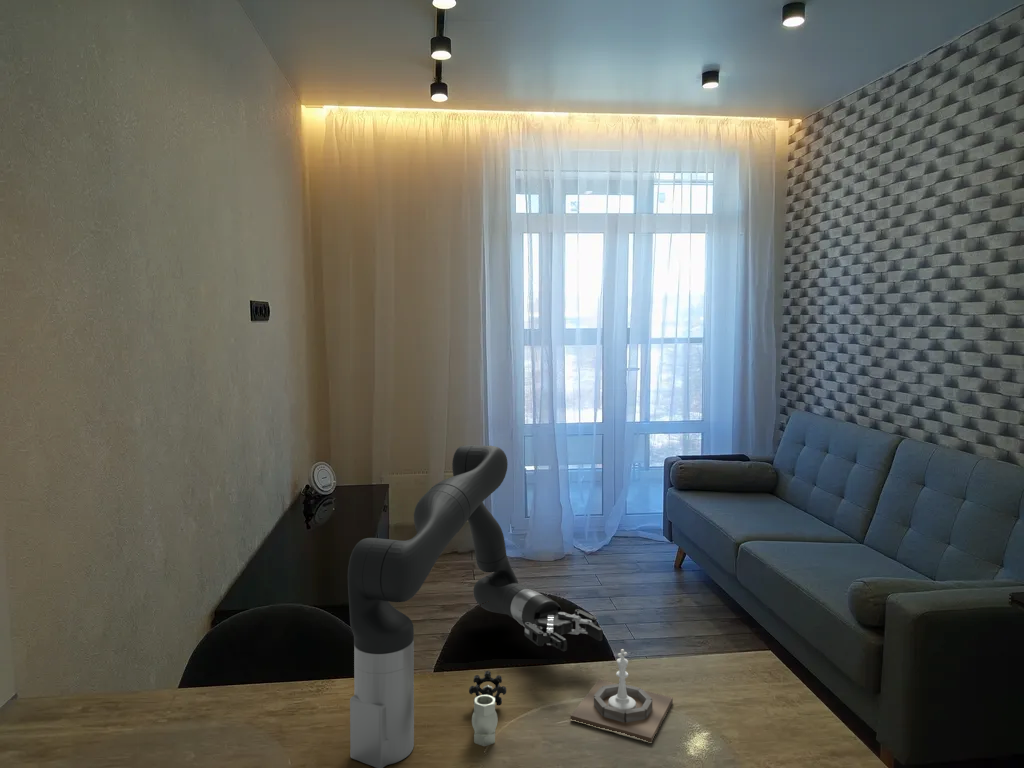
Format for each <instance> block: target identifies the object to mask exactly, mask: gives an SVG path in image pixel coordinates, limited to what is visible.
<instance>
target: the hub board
mask: <svg viewBox="0 0 1024 768" xmlns="http://www.w3.org/2000/svg"><path fill="white" fill-rule="evenodd" d="M618 687H619V682H618V683H614V682H611V681H607V680H603V679H598V680H597V681H596V682H595V684H594V685H593V686H592V687H591V689H590V690H589V691H588V693H587V694H586V695H585V696H584V698H583V699H582V700H581V701H580V702H579V704H577V706H576V708H575V709H574V710H573V712H571V714H570V716H569V717H570V719H572V720H576V721H579V722H583V723H586V724H590V725H593V726H596V727H600V728H605V729H609V730H612V731H617V732H621V733H625V734H627V735H630V736H635V737H637V738H640V739H643V740H646V741H648V742H652V740H653V738H654V736H655V734H656V733H657V734H658V732H659V730H660V728H661V726H662V725H661V723H662V721H663V719H664V717H665V716H667V715H666V714H668V713H669V711H670V709H671V708H672V705H673V704H674V703H673V702H674V701H673V700H674V699H673V697H672V696H668V695H665V694H664V695H663V694H659V693H655V692H652V691H649V690H648V691H647V690H644V689H643V688H641V687H638V686H635V685H630V684H626V691H627V695H628V696H629V697H631V698H633V699H634V700H635V702H636V709H630V710H621V709H618V708H614V707H610V706H608V700H609V698H610V697H612V696H614V695H616V694H617V693H618ZM668 710H669V711H668ZM667 712H668V713H667ZM665 718H666V717H665ZM570 719H569V720H570ZM664 720H665V719H664ZM663 722H664V721H663ZM662 724H663V723H662ZM660 725H661V726H660ZM659 727H660V728H659ZM658 729H659V730H658ZM657 731H658V732H657ZM657 734H656V735H657ZM655 737H656V736H655ZM654 739H655V738H654ZM653 741H654V740H653ZM652 743H653V742H652Z"/></svg>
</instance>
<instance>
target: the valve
mask: <svg viewBox="0 0 1024 768" xmlns="http://www.w3.org/2000/svg"><path fill="white" fill-rule="evenodd" d="M487 682H489V683H492V684H493V685H494V688H493V686H492V685H489V684H486V685H484V686H483V687H482V688H481V685H482V684H483V683H487ZM502 682H503V677H502V676H501V675H500V674H499V675H496V676H495V678H493V677H492V672H491V671H490V670H486V671H484V677H482V678H481V676H480V675H478V674H476V675H474V676H473V683H474V684H475V685H471V686H470V687H469V688H468V693H469V694H470V695H473V694H475V697H474V698H473V713H472V716H471V725H472V728H473V730H474V731H473V742H474V744H477V745H479V746H482V747H487V746H490V745H493V744H495V741H496V728H497V726H498V721H499V719H498V713H497V711H496V706H501V705H502V701H503V698H502V697H500V695H501V694H502V695H503V696H505V695H506V694H507V687H506V686H504V685H500V684H502ZM495 693H496V694H495ZM494 694H495V695H494Z"/></svg>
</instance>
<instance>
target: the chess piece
mask: <svg viewBox="0 0 1024 768" xmlns="http://www.w3.org/2000/svg"><path fill="white" fill-rule="evenodd" d="M625 656H626V657H627V656H628V652H627V651H625V649H624V648H622V649H620V652H619V653H617V657H619V658H617V659H616V664H617V667H618V671H616V673H615V676H616V677H618V678H619V679H618V683H619V687H618V693H617V694H616V695H614V696H612V697H610V698H609V700H608V706H610V707H614V708H618V709H621V710H630V709H636V702H635V700H634V699H633V698H631V697H629V696H628V695H627V691H626V685H627V684H626V683H627V682H626V678H628V677H629V673H628V671H627V667H628V665H629V660H628V659H627V658H625Z"/></svg>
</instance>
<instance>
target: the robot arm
mask: <svg viewBox="0 0 1024 768" xmlns="http://www.w3.org/2000/svg"><path fill="white" fill-rule="evenodd" d="M451 464H452V465H451V466H452V467H451V468H452V475H453V476H451V477H448V478H445V479H443V480H441V481H439V482H438V483H435V485H433V486H432V487H431V488H430V489H429V490H427V492H426V493H425V494H424V495H423V496H422V497H421V498H420V499H419V501H418V502H417V503H416V506H415V508H414V512H413V523H414V528H415V531H416V532H415V533H416V534H415V535H414V536H413V537H412V538H410V539H407V540H399V539H398V540H397V539H388V538H377V537H367V538H363V539H361V540H359V541H358V542H357V543H356V544H355V546H354V548H353V549H352V551H351V553H350V557H349V560H348V566H347V590H348V591H347V592H348V607H349V608H348V609H349V624H350V629H351V632H352V634H353V647H354V651H353V653H354V654H353V655H354V656H353V657H354V658H353V659H354V660H353V661H354V662H353V663H354V664H353V666H354V667H353V668H354V669H353V670H354V671H353V672H354V673H353V675H354V678H353V679H354V682H353V683H354V684H353V685H354V687H353V688H354V695H353V696H351V697H350V699H349V736H350V738H349V741H350V742H349V743H350V748H349V749H350V758H351V759H353V760H354V761H358V762H360V763H363V764H366V765H368V766H372V767H374V768H385V767H386V766H388V765H393V764H396V763H399V762H400V761H402V760H405V758H407V757H408V756H410V754H411V753H412V752H413V749H414V747H415V705H414V704H415V695H414V693H415V691H414V690H415V688H414V687H415V685H414V684H415V683H414V682H415V680H414V679H415V678H414V676H415V674H414V673H415V671H414V670H415V669H414V667H415V666H414V664H415V663H414V661H415V659H414V658H415V651H414V650H415V643H414V641H415V640H414V638H415V637H414V629H415V628H414V623H413V622H412V619H411V618H410V617H409V616H407V615H406V614H404V613H402V612H401V611H399V609H397V608H396V607H395V606H393V605H392V604H391V603H390V602H392V603H405V602H407V601H409V600H411V599H412V598H413V597H415V595H416V594H417V593H418V592H419V590H420V589H421V588H422V586H423V584H424V583H425V581H426V579H427V578H428V576H429V574H430V573H431V571H432V569H433V567H434V565H435V564H436V562H437V561H438V560H439V558H440V556H441V555H442V553H443V552H444V550H445V549H446V548H447V546H448V545H449V544H450V542H451V541H452V539H453V538H455V536H456V535H457V534H458V533H459V532H460V531H461V529H462V528H463V526H464V525H466V523H467V522H468V525H469V528H470V531H471V537H472V541H473V549H474V553H475V554H474V555H475V560H476V565H477V567H478V569H479V570H480V571H481V572H483V573H484V572H485V573H490V574H488V575H486V576H484V577H482V578H480V579H478V580H477V581H476V582H475V584H474V586H473V591H472V592H473V597H474V600H475V601H476V603H477V604H478V605H479V606H480V604H481V606H480V607H481V608H483V610H486V611H488V612H491V613H497V614H502V615H508V616H509V617H510V618H513V619H514V620H515V621H517V622H518V624H520V625H521V626H523V627H524V636H525V638H527V639H529V641H530V642H533V643H534V645H536V646H537V647H543V646H544V644H546V645H547V646H552V647H554V648H556V649H558V650H560V651H562V652H565V651H567V650H568V641H567V640H568V639H566V638H565V637H564V636H562V635H565V634H570V635H577V636H578V635H579V634H583V635H584V634H586V635H588V636H590V637H592V639H595V640H596V641H598V642H601V641H603V640H604V639H603V632H604V631H603V629H602V627H599V626H597V623H598V622H597V617H596V616H594V615H592V614H591V613H588V612H586V611H584V610H581V609H575V610H574V613H573V614H570V613H567V612H565V611H563V609H562V608H561V606H560V604H559V603H558V602H557V601H555V600H553V599H551V598H549V597H547V596H546V595H544V594H541V593H540V592H538V591H535V590H532V589H531V588H529V587H527V586H525V585H523V584H521V583H519V581H518V578H517V576H516V574H515V572H514V570H513V568H512V566H511V563H510V561H509V559H508V555H507V549H506V542H505V536H504V533H503V530H502V528H501V525H500V524H499V522H498V521H497V520H496V518H495V517H494V515H493V514H492V513H491V511H489V509H488V508H487V506H485V504H484V501H485V500H486V499H487V498H488V497H489V496H491V495H492V494H493V493H494V492H495V491H496V490H498V489H499V488H500V486H501V485H502V484H503V482H504V480H505V478H506V475H507V473H508V465H509V464H508V457H507V454H506V453H505V451H504V450H503V449H502V448H500V447H498V446H494V445H474V444H473V445H472V444H471V445H461V446H459V447H457V449H456V450H455V452H454V454H453V456H452V463H451ZM487 601H489V602H487ZM485 602H486V603H485ZM482 603H484V604H482ZM573 622H575V629H574V628H573Z"/></svg>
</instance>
